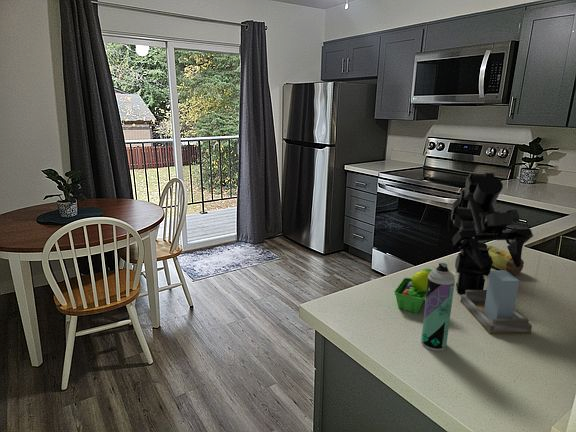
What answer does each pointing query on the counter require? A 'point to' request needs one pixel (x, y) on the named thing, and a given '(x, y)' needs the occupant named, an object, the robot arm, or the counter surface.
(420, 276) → the fruit basket
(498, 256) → the sauce bottle
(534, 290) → the counter surface
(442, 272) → the spray can
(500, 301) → the blue-grey rectangular block
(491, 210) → the robot arm
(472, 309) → the shallow grey tray
